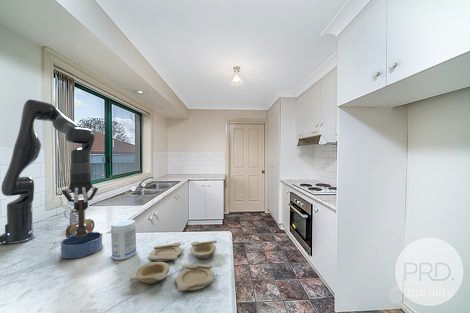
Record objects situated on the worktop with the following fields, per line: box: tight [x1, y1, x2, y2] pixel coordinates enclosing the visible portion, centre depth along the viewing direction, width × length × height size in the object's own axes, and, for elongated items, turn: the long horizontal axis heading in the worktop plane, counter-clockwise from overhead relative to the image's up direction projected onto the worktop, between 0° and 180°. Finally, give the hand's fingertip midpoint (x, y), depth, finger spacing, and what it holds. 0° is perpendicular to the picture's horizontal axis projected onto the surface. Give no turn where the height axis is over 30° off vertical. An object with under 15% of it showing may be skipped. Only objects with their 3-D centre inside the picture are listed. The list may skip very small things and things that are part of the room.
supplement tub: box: [110, 218, 137, 261], centre depth 90 cm, size 10×10×15 cm
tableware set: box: [129, 239, 218, 292], centre depth 81 cm, size 35×29×4 cm
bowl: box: [60, 231, 103, 259], centre depth 94 cm, size 15×15×6 cm
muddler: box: [75, 198, 87, 238], centre depth 91 cm, size 4×4×17 cm
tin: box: [64, 218, 95, 239], centre depth 110 cm, size 15×3×8 cm, turn 168°
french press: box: [63, 202, 86, 226], centre depth 128 cm, size 10×12×25 cm
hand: (81, 209), depth 91 cm, fingers closed on muddler, 2 cm apart
